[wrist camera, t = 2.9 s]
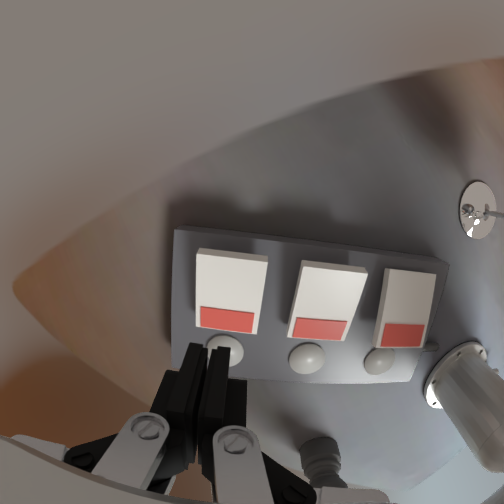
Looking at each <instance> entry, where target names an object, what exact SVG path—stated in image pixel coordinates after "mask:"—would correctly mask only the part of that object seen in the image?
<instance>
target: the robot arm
mask: <svg viewBox="0 0 504 504" xmlns="http://www.w3.org/2000/svg"><path fill="white" fill-rule="evenodd" d="M230 353H231V347H223V346H218V347H217V349H212V351H211V355H210V360H209V364H208V369H207V363H208V348H203V344H199V343H192V342H190V343H189V345H188V348H187V351H186V354H185V356H184V359H183V362H182V365H181V368H180V371H179V372H178V371H172V370H167V371H166V372H165V375H164V377H163V379H162V382H161V384H160V387H159V389H158V392H157V394H156V397H155V399H154V402H153V404H152V407H151V409H150V412H143V413H138V414H136V415H134V416H132V417H131V418H130V419H129V420H128V421H127V422H126V424H125V425H124V427H123V428H122V430H121V431H120V432H119V433H117V434H114V435H111V436H108V437H105V438H102V439H99V440H95V441H92V442H88V443H85V444H81V445H78V446H75V447H72V448H71V449H69V448H66V446H65V445H61V444H56V443H52V442H48V441H44V440H40V439H36V438H32V437H29V436H25V435H15V436H13V437H11V438H7V437H5V436H1V435H0V504H397V503H390V502H389V499H388V496H387V495H386V494H385V493H384V492H382V491H380V490H375V489H350V488H335V487H324V486H323V487H322V488H321V489H320V488H313V487H312V486H311V485H309V484H308V483H307V482H305V481H304V480H302V479H301V478H299V477H297V476H296V475H294V474H293V473H291V472H290V471H288V470H287V469H286V468H284V467H283V466H281V465H280V464H278V463H277V462H276V461H274V460H273V459H271V458H270V457H269V456H267V455H266V454H265V453H263V452H262V451H261V449H260V444H259V440H258V438H257V436H256V435H255V434H254V433H253V431H251V430H249V429H248V428H246V404H247V380H239V379H229V378H228V374H229V364H230ZM486 357H487V356H486V351H485V349H484V347H483V346H482V345H481V344H479V343H478V342H474V341H473V342H466V343H463V344H461V345H459V346H457V347H456V348H454V349H453V350H451V351H450V352H449V353H447V354H446V355H445V356H444V357H443V358H442V359H441V360H440V361H439V362H438V364H437V365H436V366H435V367H434V369H433V370H432V372H431V373H430V375H429V377H428V379H427V381H426V384H425V388H424V398H425V400H426V402H427V403H428V405H430V406H431V407H433V408H443V409H444V411H445V412H446V413H447V415H448V416H449V418H450V419H451V421H452V422H453V424H454V425H455V427H456V428H457V430H458V431H459V433H460V434H461V436H462V437H463V439H464V441H465V442H466V444H467V445H468V447H469V448H470V450H471V451H472V453H473V455H474V456H475V458H476V459H477V461H478V462H479V464H480V465H481V466H482V468H483V469H485V470H486V471H489V472H494V473H504V380H503V379H502V378H501V377H500V376H499V375H498V373H499V371H498V369H497V368H496V369H492V368H491V367H490V366H488V365H487V364H486ZM197 445H198V464H201V465H202V474H203V475H204V476H205V477H206V478H207V479H208V480H209V481H210V482H211V491H212V501H213V503H212V502H204V501H197V500H190V499H184V498H179V497H173V496H168V494H169V492H170V490H171V488H172V485H173V483H174V481H175V477H176V474H179V473H181V472H183V471H184V469H186V470H188V465H189V463H194V462H195V456H196V451H197ZM481 504H504V484H503V486H502V487H501V488H499V489H498V490H497V491H496V492H495V493H494V494H492V495H491V496H490V497H489V498H488V499H486V500H485V501H484V502H483V503H481Z"/></svg>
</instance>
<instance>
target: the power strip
mask: <svg viewBox="0 0 504 504" xmlns="http://www.w3.org/2000/svg"><path fill="white" fill-rule="evenodd" d="M199 248H206V249H214V250H223V251H231V252H239V253H248V254H256V255H264V256H268V265H267V271H266V278H265V284H264V291H263V297H262V304H261V310H260V316H259V323H258V329H257V334H248V333H240V332H232V331H224V330H217V329H209V328H202V327H196V255H197V252H198V250H199ZM302 260H307V261H315V262H324V263H332V264H341V265H349V266H358V267H365V269H366V271H367V272H368V276H367V279H366V282H365V285H364V288H363V291H362V294H361V297H360V300H359V303H358V306H357V308H356V311H355V314H354V317H353V319H352V322H351V325H350V327H349V330H348V333H347V335H346V338H345V340H344V341H331V340H315V339H301V338H289V337H287V331H286V329H287V325H288V321H289V316H290V312H291V308H292V303H293V299H294V294H295V290H296V285H297V280H298V276H299V271H300V266H301V261H302ZM449 266H450V264H448V263H446V262H444V261H442V260H440V259H438V258H435V257H429V256H422V255H415V254H409V253H402V252H395V251H388V250H381V249H374V248H367V247H360V246H352V245H345V244H337V243H330V242H322V241H315V240H307V239H299V238H291V237H283V236H275V235H267V234H259V233H250V232H242V231H233V230H224V229H216V228H207V227H198V226H188V225H181V226H179V227H178V228H176V229H174V243H173V264H172V296H171V354H172V367H174V368H179V369H180V368H181V365H182V362H183V359H184V356H185V354H186V351H187V348H188V345H189V343H190V342H192V343H199V344H203V348H208V363H207V369H208V364H209V360H210V355H211V351H212V349H217V347H218V346H223V347H231V353H230V364H229V374H228V376H232V377H240V378H249V379H259V380H270V381H284V382H301V383H333V384H357V383H388V382H405V381H410V379H411V377H412V375H413V372H414V370H415V368H416V365H417V363H418V361H419V358H420V356H421V353H422V352H427V351H437V350H438V349H439V344H438V343H426V340H427V338H428V335H429V332H430V329H431V327H432V324H433V321H434V318H435V315H436V312H437V309H438V305H439V302H440V299H441V296H442V292H443V289H444V285H445V281H446V278H447V274H448V270H449ZM385 268H388V269H397V270H405V271H414V272H422V273H430V274H436V280H435V287H434V293H433V299H432V305H431V310H430V315H429V320H428V325H427V330H426V334H425V338H424V343H423V347H422V348H375V347H374V346H373V345H372V339H373V335H374V330H375V325H376V320H377V315H378V309H379V303H380V297H381V291H382V285H383V278H384V271H385Z"/></svg>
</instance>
